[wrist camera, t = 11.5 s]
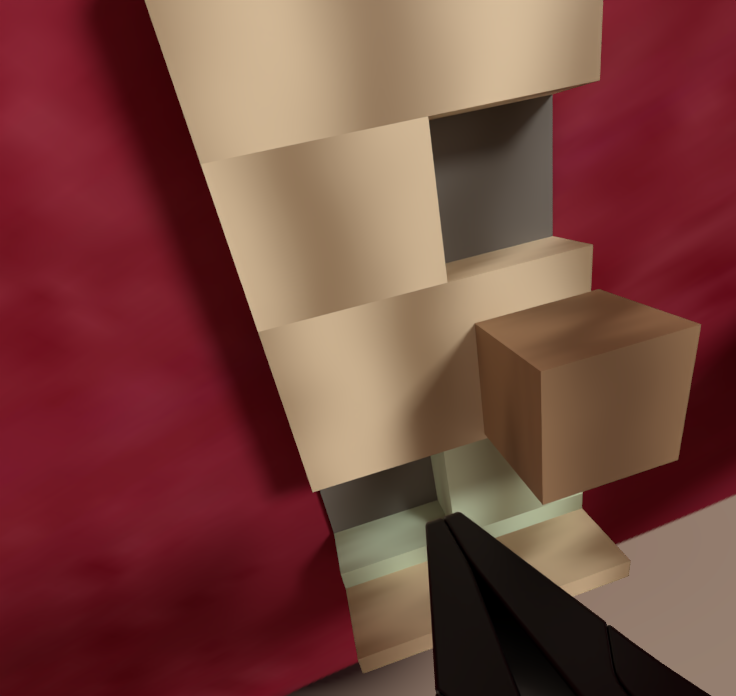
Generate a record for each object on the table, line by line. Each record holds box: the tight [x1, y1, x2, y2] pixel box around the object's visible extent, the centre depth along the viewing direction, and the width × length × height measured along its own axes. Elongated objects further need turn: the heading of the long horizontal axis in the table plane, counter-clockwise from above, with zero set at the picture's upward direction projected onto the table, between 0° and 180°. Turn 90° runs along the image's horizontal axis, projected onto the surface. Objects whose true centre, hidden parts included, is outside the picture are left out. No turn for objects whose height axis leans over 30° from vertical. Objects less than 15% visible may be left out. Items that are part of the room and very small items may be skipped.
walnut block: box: [475, 289, 701, 505], centre depth 14 cm, size 5×5×4 cm
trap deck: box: [145, 0, 630, 673], centre depth 14 cm, size 12×25×6 cm, turn 12°
